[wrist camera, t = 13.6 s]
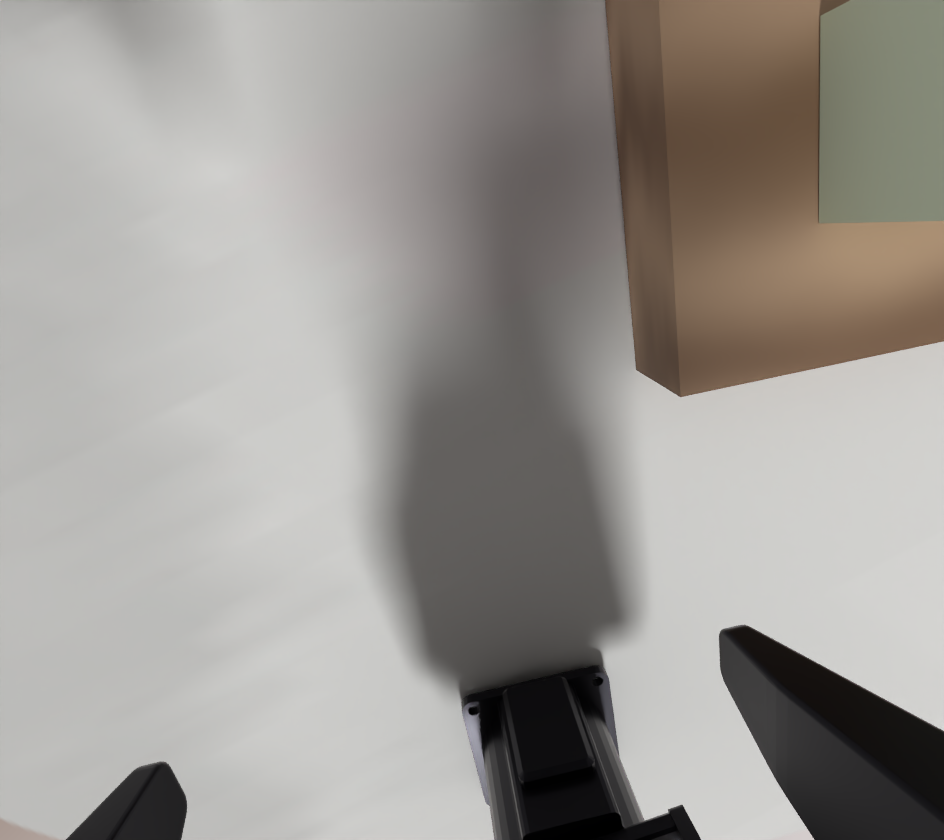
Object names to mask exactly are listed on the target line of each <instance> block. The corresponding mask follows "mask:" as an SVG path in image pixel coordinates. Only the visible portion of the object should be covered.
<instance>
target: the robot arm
mask: <svg viewBox="0 0 944 840" xmlns="http://www.w3.org/2000/svg"><path fill="white" fill-rule="evenodd" d="M719 648H720V668H721V674H722V677H723V680H724V682H725V684H726V686H727V688H728V690H729V692H730V694H731V696H732V698H733V700H734V701H735V703H736V705H737V707H738V709H739V711H740V713H741V715H742V717H743V719H744V720H745V722H746V724H747V726H748V728H749V730H750V732H751V734H752V736H753V738H754V739H755V741H756V743H757V745H758V747H759V749H760V751H761V753H762V755H763V757H764V758H765V760H766V762H767V764H768V766H769V768H770V770H771V771H772V773H773V775H774V777H775V779H776V780H777V782H778V784H779V785H780V787H781V788H782V790H783V792H784V793H785V795H786V797H787V798H788V800H789V801H790V803H791V804H792V806H793V807H794V809H795V810H796V812H797V813H798V815H799V816H800V818H801V820H802V821H803V823H804V824H805V826H806V827H807V829H808V830H809V832H810V833H811V835H812V836H813V838H814V839H815V840H944V731H943V730H941V729H939V728H937V727H935V726H933V725H932V724H930V723H928V722H926V721H924V720H922V719H920V718H918V717H917V716H915V715H913V714H911V713H909V712H907V711H905V710H904V709H902V708H900V707H898V706H896V705H894V704H892V703H891V702H889V701H887V700H885V699H883V698H881V697H879V696H878V695H876V694H874V693H872V692H870V691H868V690H866V689H865V688H863V687H861V686H859V685H857V684H855V683H853V682H852V681H850V680H848V679H846V678H844V677H842V676H840V675H839V674H837V673H835V672H833V671H831V670H829V669H827V668H826V667H824V666H822V665H820V664H818V663H816V662H814V661H813V660H811V659H809V658H807V657H805V656H803V655H801V654H800V653H798V652H796V651H794V650H792V649H790V648H788V647H787V646H785V645H783V644H781V643H779V642H777V641H775V640H774V639H772V638H770V637H768V636H766V635H764V634H762V633H761V632H759V631H757V630H755V629H753V628H751V627H749V626H746V625H739V626H734V627H730V628H726V629H723V630H721V632H720V634H719ZM596 677H598V678H597V679H594V678H596ZM472 706H476V707H474V708H470V707H472ZM462 714H463V717H464V721H465V725H466V729H467V733H468V737H469V740H470V744H471V748H472V752H473V756H474V760H475V763H476V767H477V771H478V775H479V779H480V783H481V786H482V790H483V794H484V798H485V802H486V803H487V804H488V805H489V806H490V811H491V818H492V826H493V833H494V840H701V839H700V837H699V835H698V833H697V831H696V829H695V827H694V826H693V824H692V822H691V820H690V818H689V816H688V814H687V813H686V811H685V809H684V807H683V805H680V806H677V807H674V808H671V809H668V812H669V813H666V814H663V815H660V816H657V817H654V818H651V819H648V820H646V821H644V818H643V816H642V813H641V811H640V808H639V806H638V803H637V801H636V798H635V796H634V793H633V790H632V788H631V785H630V783H629V780H628V778H627V775H626V773H625V770H624V768H623V765H622V763H621V760H620V758H619V751H618V744H617V736H616V729H615V721H614V714H613V706H612V699H611V692H610V684H609V678H608V676H607V674H606V671H605V669H604V668H603V667H601V666H591V667H586V668H582V669H578V670H574V671H569V672H565V673H561V674H556V675H552V676H548V677H544V678H539V679H535V680H531V681H527V682H522V683H518V684H514V685H510V686H505V687H501V688H497V689H493V690H488V691H484V692H480V693H476V694H471V695H469V696H466V697H465V698H464V699H463V701H462ZM186 813H187V801H186V796H185V794H184V792H183V790H182V788H181V786H180V784H179V782H178V780H177V778H176V777H175V775H174V773H173V771H172V769H171V767H170V766H169V764H167V763H166V762H157V763H153V764H148V765H144V766H141V767H138V768H137V769H135V770H134V771H133V772H132V773H131V774H130V775H129V776H128V777H127V778H126V779H125V780H124V781H123V782H122V783H121V784H120V785H119V786H118V787H117V788H116V789H115V790H114V791H113V792H112V793H111V794H110V795H109V796H108V797H107V798H106V799H105V800H104V801H103V802H102V803H101V804H100V805H99V806H98V807H97V808H96V809H95V810H94V811H93V812H92V813H91V815H90V816H89V817H88V818H87V819H86V820H85V821H84V822H83V823H82V824H81V825H80V826H79V827H78V828H77V829H76V830H75V831H74V832H73V833H72V834H71V835H70V836H69V837H68V838H67V839H66V840H181V838H182V833H183V828H184V823H185V818H186Z"/></svg>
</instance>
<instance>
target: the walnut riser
mask: <svg viewBox="0 0 944 840" xmlns="http://www.w3.org/2000/svg"><path fill="white" fill-rule="evenodd" d="M848 1H850V0H605V3H606V15H607V27H608V39H609V51H610V63H611V75H612V87H613V99H614V111H615V122H616V134H617V146H618V158H619V170H620V182H621V194H622V206H623V218H624V230H625V242H626V254H627V266H628V278H629V289H630V301H631V313H632V325H633V337H634V349H635V361H636V370H637V371H639V372H641V373H642V374H644V375H645V376H647V377H649V378H650V379H652V380H654V381H655V382H657V383H659V384H660V385H662V386H663V387H665V388H667V389H668V390H670V391H672V392H673V393H675V394H676V395H678V396H680V397H683V396H688V395H693V394H697V393H702V392H707V391H711V390H716V389H721V388H726V387H730V386H735V385H740V384H744V383H749V382H754V381H759V380H763V379H768V378H773V377H777V376H782V375H787V374H791V373H796V372H801V371H806V370H810V369H815V368H820V367H824V366H829V365H834V364H839V363H843V362H848V361H853V360H857V359H862V358H867V357H872V356H876V355H881V354H886V353H890V352H895V351H900V350H904V349H909V348H914V347H919V346H923V345H928V344H933V343H937V342H942V341H944V221H914V222H864V223H819V140H820V16H821V15H823V14H825V13H827V12H829V11H831V10H833V9H835V8H836V7H838V6H840V5H842V4H844V3H846V2H848Z"/></svg>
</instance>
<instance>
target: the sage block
mask: <svg viewBox="0 0 944 840" xmlns="http://www.w3.org/2000/svg"><path fill="white" fill-rule="evenodd" d="M914 221H944V0H850V1H848V2H846V3H844V4H842V5H840V6H838V7H836V8H835V9H833V10H831V11H829V12H827V13H825V14H823V15H821V16H820V140H819V223H864V222H914Z"/></svg>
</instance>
